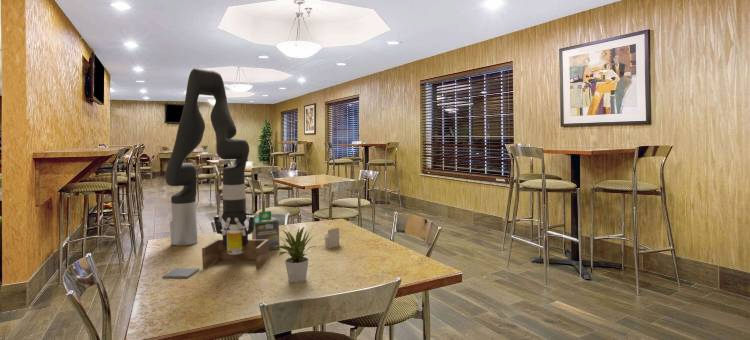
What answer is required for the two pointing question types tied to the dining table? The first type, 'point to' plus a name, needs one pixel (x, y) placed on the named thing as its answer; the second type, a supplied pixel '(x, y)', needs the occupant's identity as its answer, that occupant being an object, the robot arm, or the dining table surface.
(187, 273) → the grey pad
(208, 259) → the walnut box
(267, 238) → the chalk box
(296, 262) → the house plant
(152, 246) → the dining table surface
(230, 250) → the supplement bottle
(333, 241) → the architectural model
